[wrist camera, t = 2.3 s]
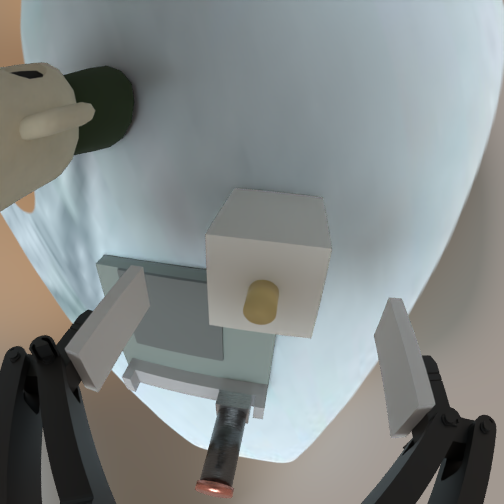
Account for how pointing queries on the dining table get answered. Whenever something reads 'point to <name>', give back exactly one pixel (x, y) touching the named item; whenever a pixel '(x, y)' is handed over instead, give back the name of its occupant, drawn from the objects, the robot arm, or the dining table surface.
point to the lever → (225, 444)
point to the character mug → (56, 121)
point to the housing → (267, 262)
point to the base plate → (189, 338)
